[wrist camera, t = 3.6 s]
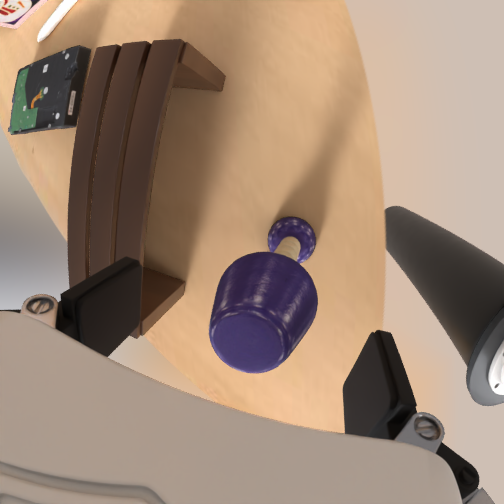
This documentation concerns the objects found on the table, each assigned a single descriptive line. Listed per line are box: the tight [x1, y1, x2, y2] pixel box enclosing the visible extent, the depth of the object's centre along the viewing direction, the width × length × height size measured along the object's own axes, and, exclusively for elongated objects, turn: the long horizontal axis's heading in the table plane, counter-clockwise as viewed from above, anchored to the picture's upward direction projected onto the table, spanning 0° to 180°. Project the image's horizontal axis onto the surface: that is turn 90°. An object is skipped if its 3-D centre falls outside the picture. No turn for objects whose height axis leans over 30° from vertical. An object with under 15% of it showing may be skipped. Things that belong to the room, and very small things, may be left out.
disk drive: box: [8, 45, 91, 135], centre depth 25 cm, size 10×3×15 cm
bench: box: [68, 39, 226, 339], centre depth 22 cm, size 8×22×9 cm, turn 167°
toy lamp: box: [209, 217, 318, 373], centre depth 17 cm, size 5×5×17 cm
